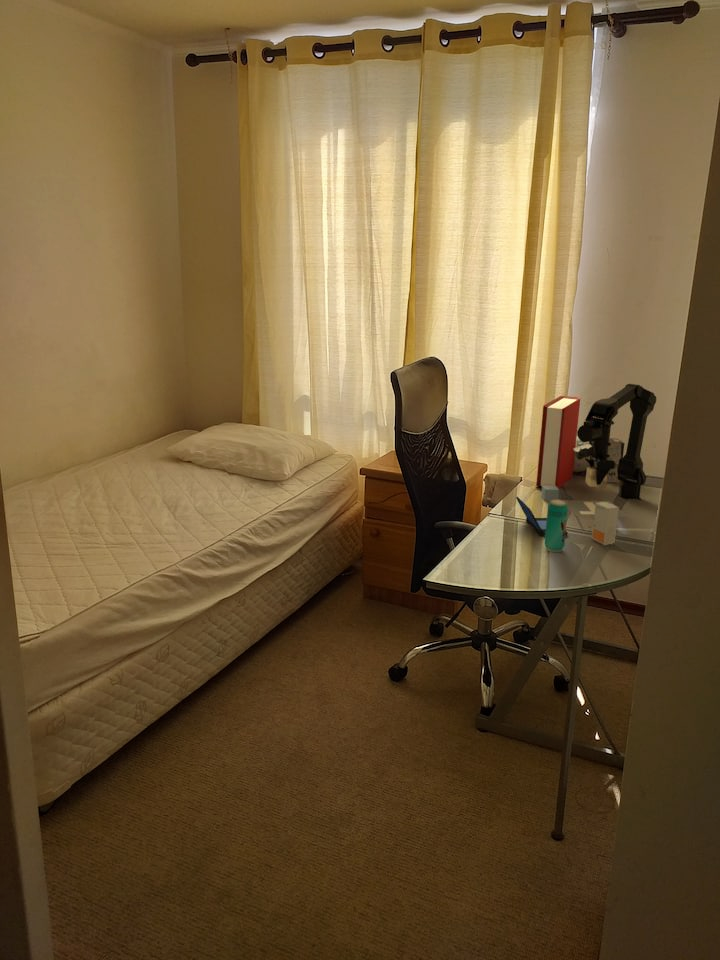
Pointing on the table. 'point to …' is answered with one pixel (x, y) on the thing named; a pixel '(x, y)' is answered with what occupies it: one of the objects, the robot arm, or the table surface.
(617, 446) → the coffee box
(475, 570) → the table surface
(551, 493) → the grey cube
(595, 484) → the birch block
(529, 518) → the handheld game console
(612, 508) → the skincare box
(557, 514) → the beverage can
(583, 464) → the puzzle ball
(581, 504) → the letter board
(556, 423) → the book
